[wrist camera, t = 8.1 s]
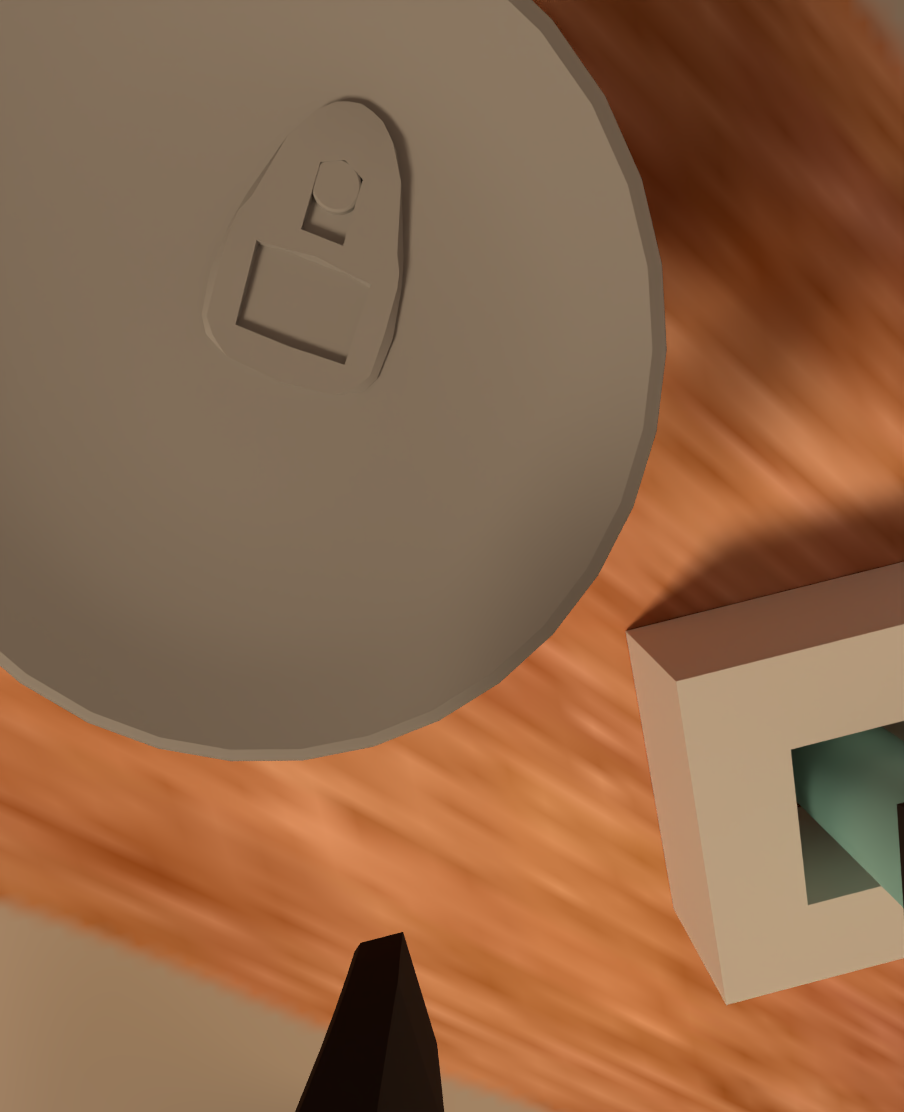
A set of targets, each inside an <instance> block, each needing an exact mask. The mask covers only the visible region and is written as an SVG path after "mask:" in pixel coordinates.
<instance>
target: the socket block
mask: <svg viewBox="0 0 904 1112" xmlns="http://www.w3.org/2000/svg"><path fill="white" fill-rule="evenodd" d="M626 636H627V642H628V648H629V654H630V659H631V665H632V671H633V677H634V682H635V688H636V694H637V700H638V706H639V711H640V717H641V723H642V729H643V734H644V740H645V746H646V752H647V758H648V763H649V769H650V775H651V781H652V786H653V792H654V798H655V804H656V809H657V815H658V821H659V827H660V833H661V838H662V844H663V850H664V856H665V861H666V867H667V873H668V879H669V885H670V890H671V896H672V902H673V908H674V910H675V912H676V914H677V915H678V917H679V919H680V921H681V923H682V925H683V926H684V928H685V930H686V932H687V934H688V936H689V937H690V939H691V941H692V943H693V945H694V947H695V948H696V950H697V952H698V954H699V956H700V958H701V959H702V961H703V963H704V965H705V967H706V969H707V970H708V972H709V974H710V976H711V978H712V980H713V982H714V983H715V985H716V987H717V989H718V991H719V993H720V994H721V996H722V998H723V1000H724V1002H725V1004H726V1005H728V1004H732V1003H736V1002H739V1001H743V1000H747V999H751V998H755V997H758V996H762V995H766V994H770V993H773V992H777V991H781V990H785V989H789V988H792V987H796V986H800V985H804V984H807V983H811V982H815V981H819V980H822V979H826V978H830V977H834V976H838V975H841V974H845V973H849V972H853V971H856V970H860V969H864V968H868V967H871V966H875V965H879V964H883V963H887V962H890V961H894V960H898V959H902V958H904V909H903V907H902V906H901V905H900V904H899V903H898V902H897V901H896V900H895V899H894V898H893V897H892V896H891V895H890V894H889V893H888V892H887V891H886V890H885V889H884V888H883V887H882V886H881V885H880V884H879V883H878V882H877V881H876V880H875V879H874V878H873V877H872V876H871V875H870V874H869V873H868V872H867V871H866V870H865V869H864V868H863V867H862V866H861V865H860V864H859V863H858V862H857V861H856V860H855V859H854V858H853V857H852V856H851V855H850V854H849V853H848V852H847V851H846V850H845V849H844V848H843V847H842V846H841V845H840V844H839V843H838V842H837V841H836V840H835V839H834V838H833V837H832V836H831V835H830V834H829V833H828V832H826V831H825V830H824V829H823V828H822V827H821V826H820V825H819V824H818V823H817V822H816V821H815V820H814V819H813V818H812V817H811V816H810V815H809V814H808V813H807V812H806V811H805V810H804V809H803V808H802V807H798V808H797V802H796V793H795V784H794V775H793V766H792V757H791V749H795V748H799V747H803V746H807V745H811V744H815V743H818V742H822V741H826V740H830V739H834V738H838V737H842V736H846V735H850V734H854V733H858V732H861V731H865V730H869V729H873V728H877V727H881V726H882V727H883V728H885V729H886V730H888V731H889V732H891V733H892V734H894V735H895V736H897V737H898V738H900V739H901V740H903V741H904V562H900V563H896V564H892V565H888V566H884V567H880V568H876V569H872V570H868V571H864V572H860V573H856V574H852V575H848V576H844V577H840V578H836V579H832V580H828V581H824V582H820V583H816V584H812V585H808V586H804V587H800V588H796V589H792V590H788V591H784V592H780V593H776V594H772V595H768V596H764V597H760V598H756V599H752V600H748V601H744V602H740V603H736V604H732V605H728V606H724V607H720V608H716V609H712V610H708V611H704V612H700V613H696V614H692V615H688V616H684V617H680V618H676V619H672V620H668V621H664V622H660V623H656V624H652V625H648V626H644V627H640V628H636V629H632V630H628V631H626Z"/></svg>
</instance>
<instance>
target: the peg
mask: <svg viewBox="0 0 904 1112" xmlns="http://www.w3.org/2000/svg"><path fill="white" fill-rule="evenodd" d="M791 757H792V766H793V775H794V784H795V793H796V802H797V803H798V804H799V805H800V806H801V807H802V808H803V809H804V810H805V811H806V812H807V813H808V814H809V815H810V816H811V817H812V818H813V819H814V820H815V821H816V822H817V823H818V824H819V825H820V826H821V827H822V828H823V829H824V830H825V831H826V832H828V833H829V834H830V835H831V836H832V837H833V838H834V839H835V840H836V841H837V842H838V843H839V844H840V845H841V846H842V847H843V848H844V849H845V850H846V851H847V852H848V853H849V854H850V855H851V856H852V857H853V858H854V859H855V860H856V861H857V862H858V863H859V864H860V865H861V866H862V867H863V868H864V869H865V870H866V871H867V872H868V873H869V874H870V875H871V876H872V877H873V878H874V879H875V880H876V881H877V882H878V883H879V884H880V885H881V886H882V887H883V888H884V889H885V890H886V891H887V892H888V893H889V894H890V895H891V896H892V897H893V898H894V899H895V900H896V901H897V902H898V903H899V904H900V905H901V906H902V907H903V894H902V879H901V863H900V848H899V832H898V817H897V804H899V803H903V802H904V741H903V740H901V739H900V738H898V737H897V736H895V735H894V734H892V733H891V732H889V731H888V730H886V729H885V728H883V727H882V726H881V727H877V728H873V729H869V730H865V731H861V732H858V733H854V734H850V735H846V736H842V737H838V738H834V739H830V740H826V741H822V742H818V743H815V744H811V745H807V746H803V747H799V748H795V749H791Z"/></svg>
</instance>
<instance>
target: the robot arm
mask: <svg viewBox="0 0 904 1112" xmlns="http://www.w3.org/2000/svg"><path fill="white" fill-rule="evenodd" d="M897 817H898V832H899V848H900V863H901V879H902V894H903V909H904V802H903V803H899V804H897ZM295 1112H444V1106H443V1095H442V1086H441V1077H440V1067H439V1058H438V1049H437V1042H436V1039H435V1036H434V1032H433V1029H432V1026H431V1023H430V1019H429V1016H428V1013H427V1009H426V1006H425V1003H424V1000H423V996H422V993H421V990H420V986H419V983H418V980H417V977H416V973H415V970H414V967H413V963H412V960H411V957H410V954H409V950H408V947H407V944H406V940H405V937H404V934H403V932H401V933H397V934H393V935H389V936H386V937H382V938H378V939H374V940H370V941H366V942H362V943H360V945H359V946H358V948H357V949H356V951H355V952H354V955H353V959H352V962H351V965H350V968H349V971H348V974H347V977H346V980H345V983H344V986H343V989H342V992H341V994H340V997H339V1000H338V1003H337V1006H336V1009H335V1011H334V1014H333V1017H332V1020H331V1022H330V1025H329V1028H328V1030H327V1033H326V1036H325V1038H324V1041H323V1044H322V1046H321V1049H320V1052H319V1054H318V1057H317V1059H316V1061H315V1064H314V1066H313V1069H312V1071H311V1074H310V1076H309V1079H308V1081H307V1084H306V1086H305V1089H304V1092H303V1094H302V1096H301V1098H300V1101H299V1104H298V1106H297V1108H296V1111H295Z"/></svg>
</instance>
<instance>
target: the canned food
mask: <svg viewBox="0 0 904 1112" xmlns="http://www.w3.org/2000/svg"><path fill="white" fill-rule="evenodd" d="M666 350H667V349H666V330H665V311H664V293H663V274H662V263H661V258H660V254H659V250H658V246H657V241H656V237H655V233H654V229H653V225H652V220H651V216H650V212H649V208H648V203H647V199H646V195H645V191H644V187H643V182H642V178H641V176H640V174H639V172H638V169H637V167H636V165H635V163H634V160H633V158H632V156H631V154H630V151H629V149H628V147H627V144H626V142H625V140H624V138H623V135H622V133H621V131H620V129H619V126H618V124H617V122H616V120H615V117H614V115H613V113H612V111H611V108H610V106H609V104H608V101H607V99H606V97H605V95H604V94H603V92H602V91H601V89H600V88H599V87H598V85H597V84H596V82H595V81H594V79H593V78H592V76H591V75H590V74H589V72H588V71H587V69H586V68H585V66H584V65H583V63H582V62H581V61H580V59H579V58H578V56H577V55H576V53H575V52H574V50H573V49H572V48H571V46H570V45H569V43H568V42H567V40H566V39H565V37H564V36H563V35H562V33H561V32H560V30H559V29H558V27H557V26H556V24H555V23H554V22H553V20H552V19H551V18H550V17H549V16H548V15H547V14H546V13H545V12H544V11H543V10H542V9H541V8H539V7H538V6H537V5H536V4H535V3H534V2H533V1H532V0H0V666H1V667H2V668H3V669H5V670H6V671H7V672H8V673H9V674H10V675H12V676H13V677H14V678H15V679H16V680H17V681H19V682H20V683H21V684H23V685H25V686H26V687H28V688H30V689H31V690H33V691H35V692H37V693H38V694H40V695H42V696H43V697H45V698H47V699H48V700H50V701H52V702H54V703H55V704H57V705H59V706H60V707H62V708H64V709H66V710H67V711H69V712H71V713H72V714H74V715H76V716H77V717H79V718H81V719H83V720H84V721H86V722H88V723H90V724H93V725H96V726H99V727H101V728H104V729H107V730H110V731H112V732H115V733H118V734H120V735H123V736H126V737H129V738H131V739H134V740H137V741H139V742H142V743H145V744H148V745H150V746H153V747H156V748H159V749H164V750H170V751H176V752H182V753H187V754H193V755H199V756H205V757H210V758H216V759H222V760H228V761H288V760H307V759H312V758H318V757H323V756H328V755H333V754H338V753H343V752H348V751H354V750H359V749H364V748H369V747H373V746H376V745H378V744H381V743H384V742H386V741H389V740H391V739H394V738H396V737H399V736H401V735H404V734H406V733H409V732H411V731H414V730H417V729H419V728H422V727H424V726H427V725H429V724H432V723H434V722H437V721H439V720H441V719H442V718H444V717H446V716H447V715H449V714H450V713H452V712H454V711H455V710H457V709H458V708H460V707H462V706H463V705H465V704H466V703H468V702H470V701H471V700H473V699H474V698H476V697H478V696H479V695H481V694H482V693H484V692H486V691H487V690H489V689H490V688H492V687H494V686H495V685H497V684H498V683H500V682H501V681H502V680H503V679H504V678H505V677H506V676H508V675H509V674H510V673H511V672H512V671H513V670H514V669H515V668H516V667H517V666H518V665H520V664H521V663H522V662H523V661H524V660H525V659H526V658H527V657H528V656H529V655H531V654H532V653H533V652H534V651H535V650H536V649H537V648H538V647H539V646H540V645H542V644H543V643H544V642H545V641H546V640H547V639H548V638H549V637H550V636H551V635H553V633H554V632H555V631H556V629H557V628H558V627H559V626H560V624H561V623H562V622H563V620H564V619H565V618H566V616H567V615H568V614H569V612H570V611H571V610H572V609H573V607H574V606H575V605H576V603H577V602H578V601H579V599H580V598H581V597H582V595H583V594H584V593H585V592H586V590H587V589H588V588H589V586H590V585H591V584H592V582H593V581H594V580H595V578H596V577H597V576H598V574H599V572H600V570H601V568H602V567H603V565H604V563H605V561H606V559H607V557H608V555H609V553H610V551H611V549H612V547H613V545H614V543H615V541H616V539H617V537H618V535H619V533H620V532H621V530H622V528H623V526H624V524H625V522H626V520H627V518H628V516H629V514H630V512H631V510H632V508H633V506H634V503H635V499H636V496H637V493H638V490H639V486H640V483H641V480H642V477H643V473H644V470H645V467H646V464H647V460H648V457H649V454H650V451H651V447H652V444H653V441H654V438H655V434H656V431H657V423H658V415H659V407H660V399H661V390H662V382H663V374H664V366H665V358H666Z"/></svg>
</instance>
